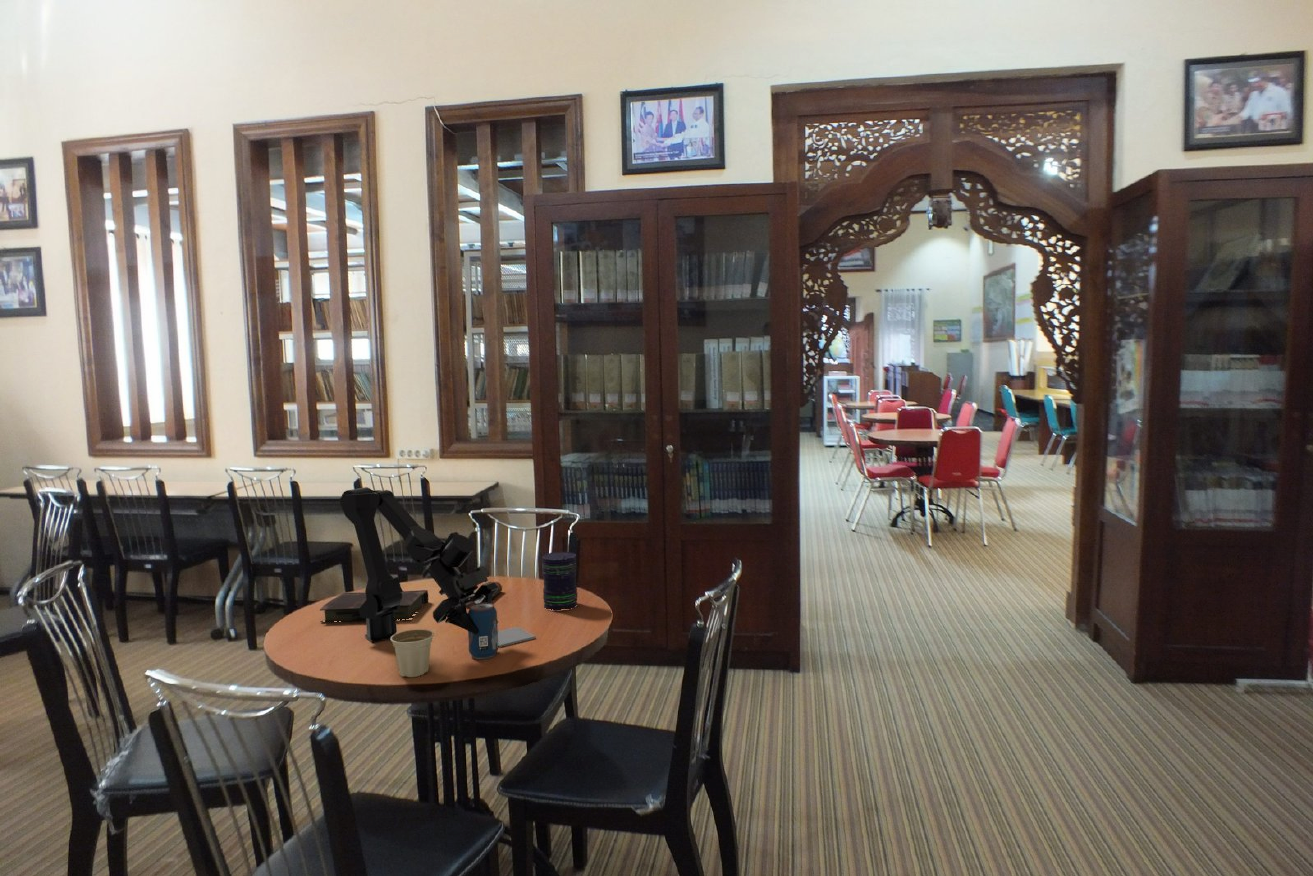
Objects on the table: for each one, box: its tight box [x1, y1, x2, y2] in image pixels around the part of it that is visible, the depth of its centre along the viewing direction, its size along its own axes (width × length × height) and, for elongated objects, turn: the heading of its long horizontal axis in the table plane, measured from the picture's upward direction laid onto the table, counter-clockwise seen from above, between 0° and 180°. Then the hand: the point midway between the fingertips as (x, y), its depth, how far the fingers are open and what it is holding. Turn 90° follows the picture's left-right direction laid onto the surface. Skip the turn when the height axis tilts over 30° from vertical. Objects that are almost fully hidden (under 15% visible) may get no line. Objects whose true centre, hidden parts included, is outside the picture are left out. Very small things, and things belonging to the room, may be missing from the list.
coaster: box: [498, 626, 536, 648], centre depth 195 cm, size 10×10×1 cm
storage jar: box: [541, 551, 578, 610], centre depth 221 cm, size 10×10×15 cm
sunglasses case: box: [466, 581, 503, 610], centre depth 230 cm, size 18×7×7 cm, turn 173°
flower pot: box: [389, 628, 435, 678], centre depth 173 cm, size 9×9×9 cm
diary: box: [319, 589, 429, 624], centre depth 220 cm, size 19×25×5 cm
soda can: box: [467, 602, 499, 660], centre depth 183 cm, size 7×7×12 cm
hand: (487, 628), depth 183 cm, fingers closed on soda can, 7 cm apart
